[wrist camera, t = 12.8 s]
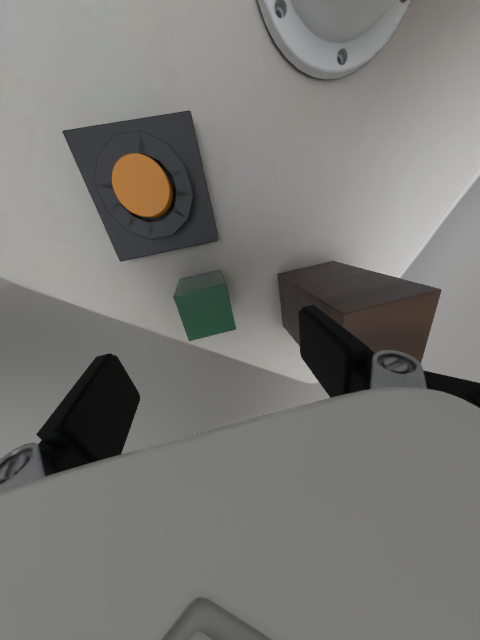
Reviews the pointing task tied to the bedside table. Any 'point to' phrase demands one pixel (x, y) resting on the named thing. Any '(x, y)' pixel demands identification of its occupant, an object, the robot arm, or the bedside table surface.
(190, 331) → the green block
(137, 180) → the button
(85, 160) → the push button base
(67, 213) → the bedside table surface
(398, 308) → the brown rectangular block
